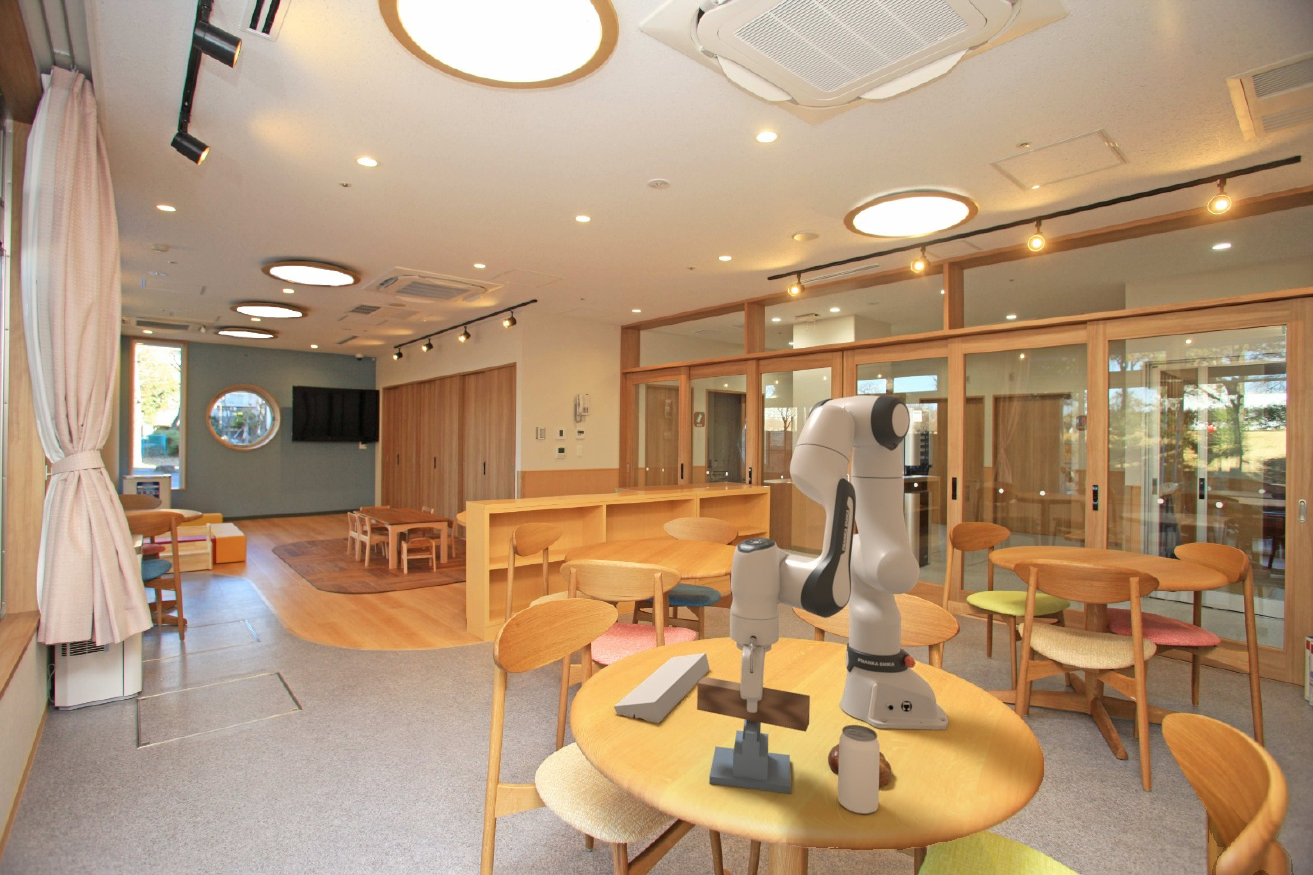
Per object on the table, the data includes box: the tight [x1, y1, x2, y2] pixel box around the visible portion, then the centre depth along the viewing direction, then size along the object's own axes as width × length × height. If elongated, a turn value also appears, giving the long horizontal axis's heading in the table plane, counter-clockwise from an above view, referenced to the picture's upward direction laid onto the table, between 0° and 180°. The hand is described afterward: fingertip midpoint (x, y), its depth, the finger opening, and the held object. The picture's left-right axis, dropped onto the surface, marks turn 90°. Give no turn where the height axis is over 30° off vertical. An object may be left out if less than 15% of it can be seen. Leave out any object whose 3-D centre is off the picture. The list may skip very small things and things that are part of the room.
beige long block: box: [613, 652, 710, 724], centre depth 150 cm, size 34×5×10 cm
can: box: [837, 724, 881, 815], centre depth 105 cm, size 6×6×12 cm
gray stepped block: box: [708, 719, 792, 794], centre depth 114 cm, size 14×11×9 cm
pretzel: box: [827, 743, 892, 787], centre depth 116 cm, size 12×11×4 cm
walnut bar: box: [696, 676, 811, 732], centre depth 114 cm, size 20×3×5 cm, turn 67°
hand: (752, 704), depth 114 cm, fingers closed on walnut bar, 4 cm apart
